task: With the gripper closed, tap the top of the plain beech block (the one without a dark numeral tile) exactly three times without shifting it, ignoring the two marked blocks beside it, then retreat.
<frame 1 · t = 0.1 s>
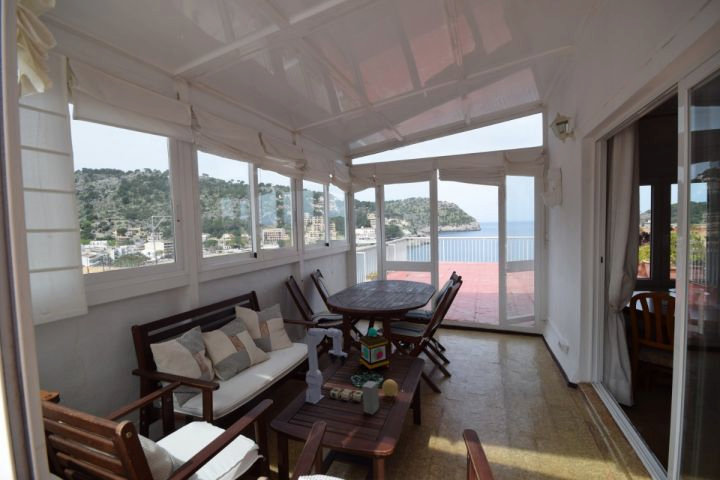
hand: (338, 364, 225), 10 cm above the table, fingers open, 7 cm apart
skincare box: (371, 410, 187), on the table
marked block a: (336, 395, 204), on the table
marked block b: (358, 398, 199), on the table
stress ball: (390, 395, 202), on the table
decorative lantern: (374, 366, 243), on the table
plain block: (346, 397, 201), on the table
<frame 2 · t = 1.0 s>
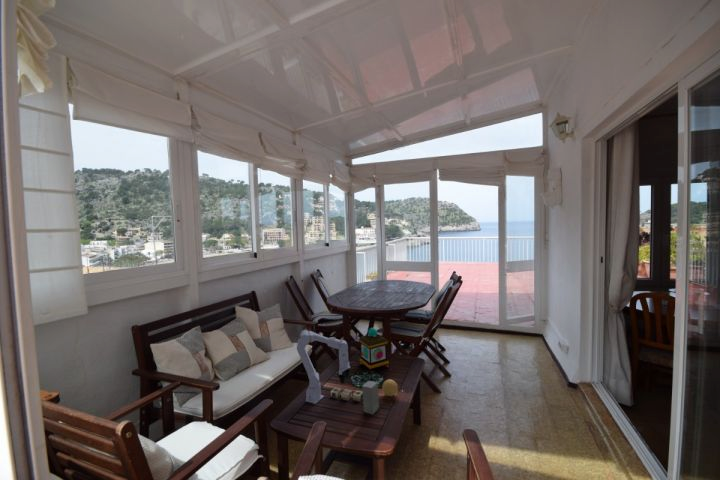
hand: (344, 380, 204), 10 cm above the table, fingers open, 7 cm apart
nothing on the table moved.
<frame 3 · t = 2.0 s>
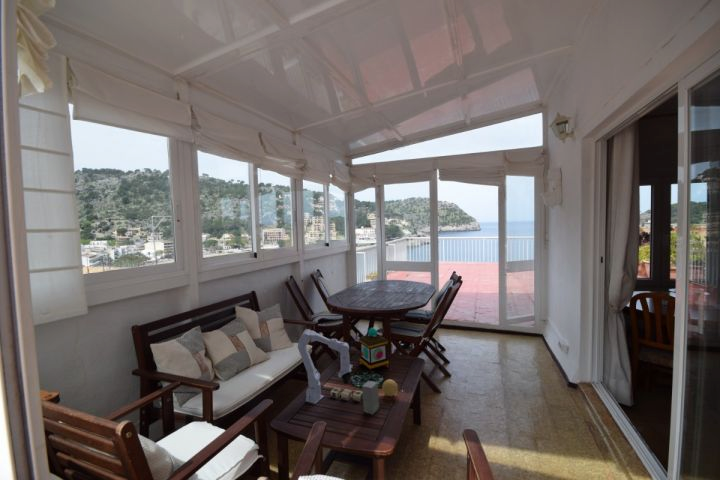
hand: (346, 383, 201), 9 cm above the table, fingers closed
nothing on the table moved.
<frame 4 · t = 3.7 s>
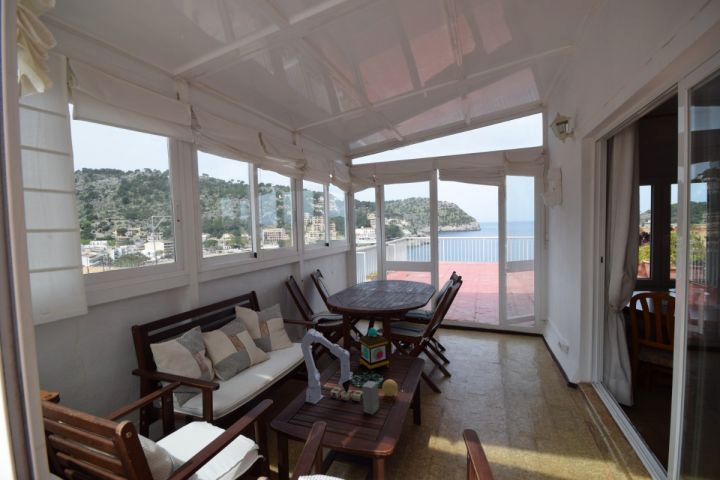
hand: (346, 391, 201), 4 cm above the table, fingers closed
nothing on the table moved.
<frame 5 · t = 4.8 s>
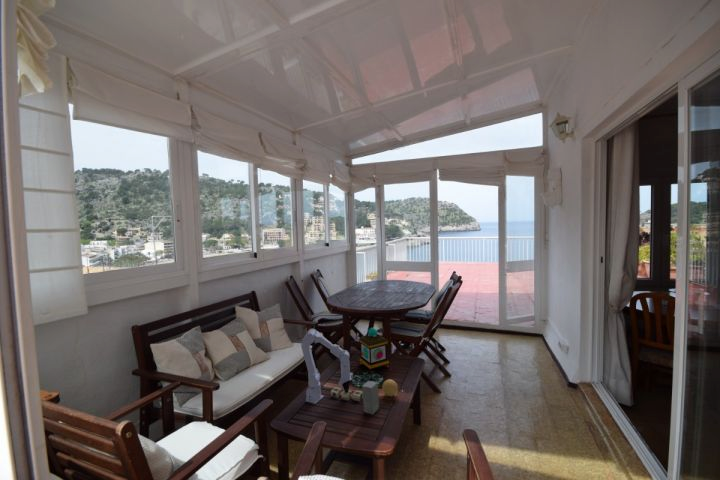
hand: (346, 391, 201), 4 cm above the table, fingers closed
nothing on the table moved.
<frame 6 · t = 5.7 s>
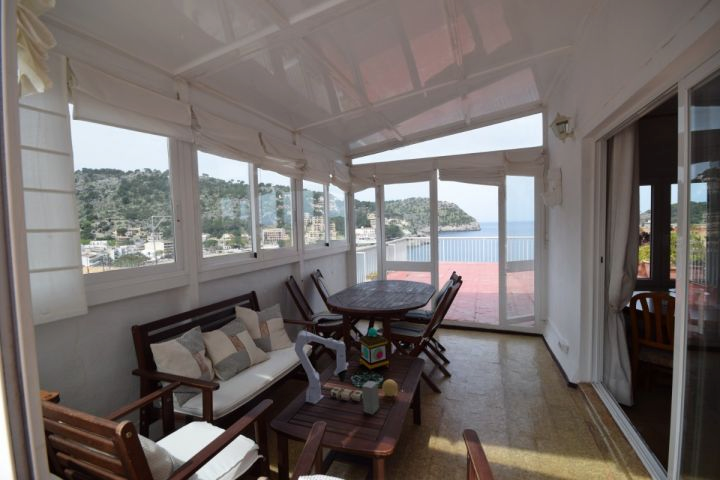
hand: (342, 381, 204), 9 cm above the table, fingers closed
nothing on the table moved.
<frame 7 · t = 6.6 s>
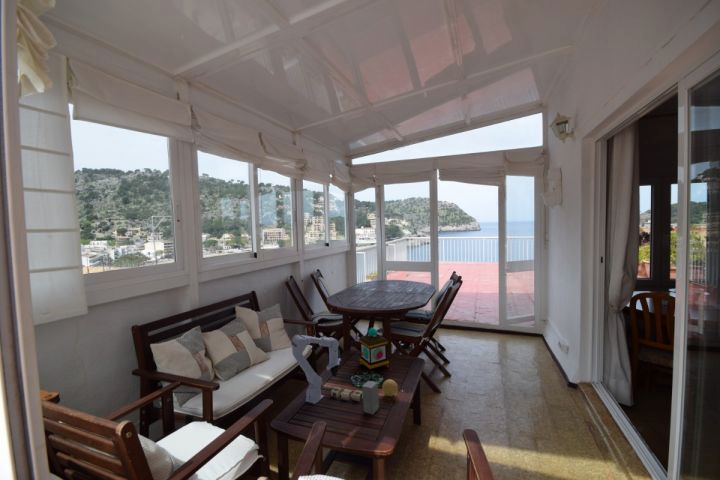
hand: (334, 375, 211), 9 cm above the table, fingers closed
nothing on the table moved.
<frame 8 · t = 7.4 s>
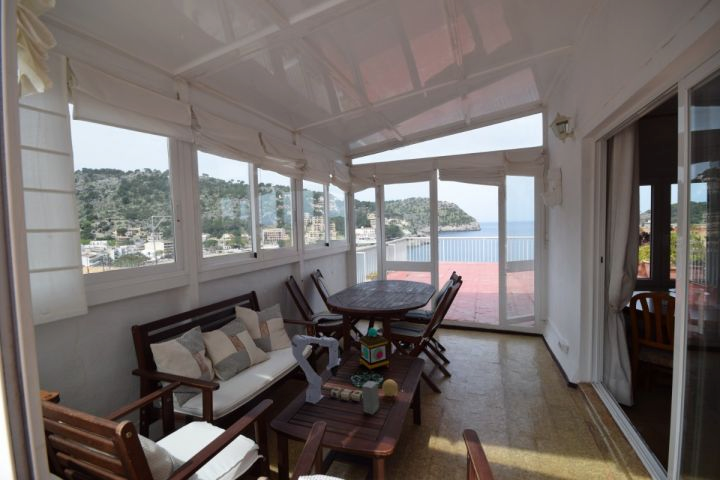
hand: (334, 375, 211), 9 cm above the table, fingers closed
nothing on the table moved.
at the end: plain block moved 0.2 cm from its start; plain block tilted 0°; the gripper is holding nothing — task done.
